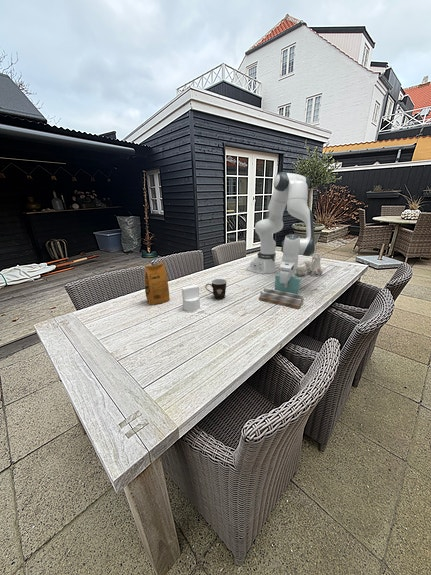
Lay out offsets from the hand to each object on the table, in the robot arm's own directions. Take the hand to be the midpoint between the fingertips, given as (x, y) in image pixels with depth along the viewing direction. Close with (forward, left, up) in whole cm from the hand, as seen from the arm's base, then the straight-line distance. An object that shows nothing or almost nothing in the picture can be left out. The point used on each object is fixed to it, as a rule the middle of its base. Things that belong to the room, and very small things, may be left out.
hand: (287, 285), depth 135 cm
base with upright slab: (-39, -43, -5) cm, 58 cm away
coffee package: (-61, -46, -5) cm, 76 cm away
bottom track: (0, -12, -5) cm, 13 cm away
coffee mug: (-34, -25, -5) cm, 42 cm away
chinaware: (+5, +44, -5) cm, 45 cm away
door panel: (0, 0, -4) cm, 4 cm away
